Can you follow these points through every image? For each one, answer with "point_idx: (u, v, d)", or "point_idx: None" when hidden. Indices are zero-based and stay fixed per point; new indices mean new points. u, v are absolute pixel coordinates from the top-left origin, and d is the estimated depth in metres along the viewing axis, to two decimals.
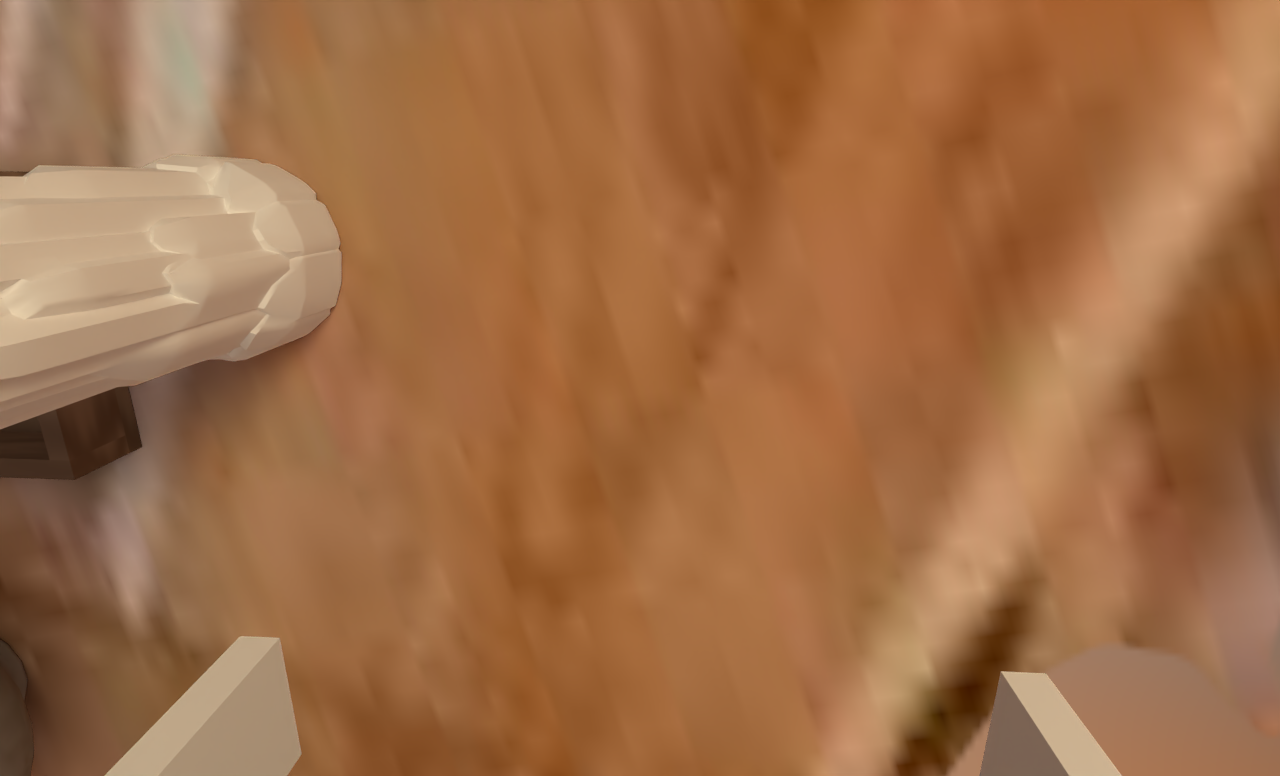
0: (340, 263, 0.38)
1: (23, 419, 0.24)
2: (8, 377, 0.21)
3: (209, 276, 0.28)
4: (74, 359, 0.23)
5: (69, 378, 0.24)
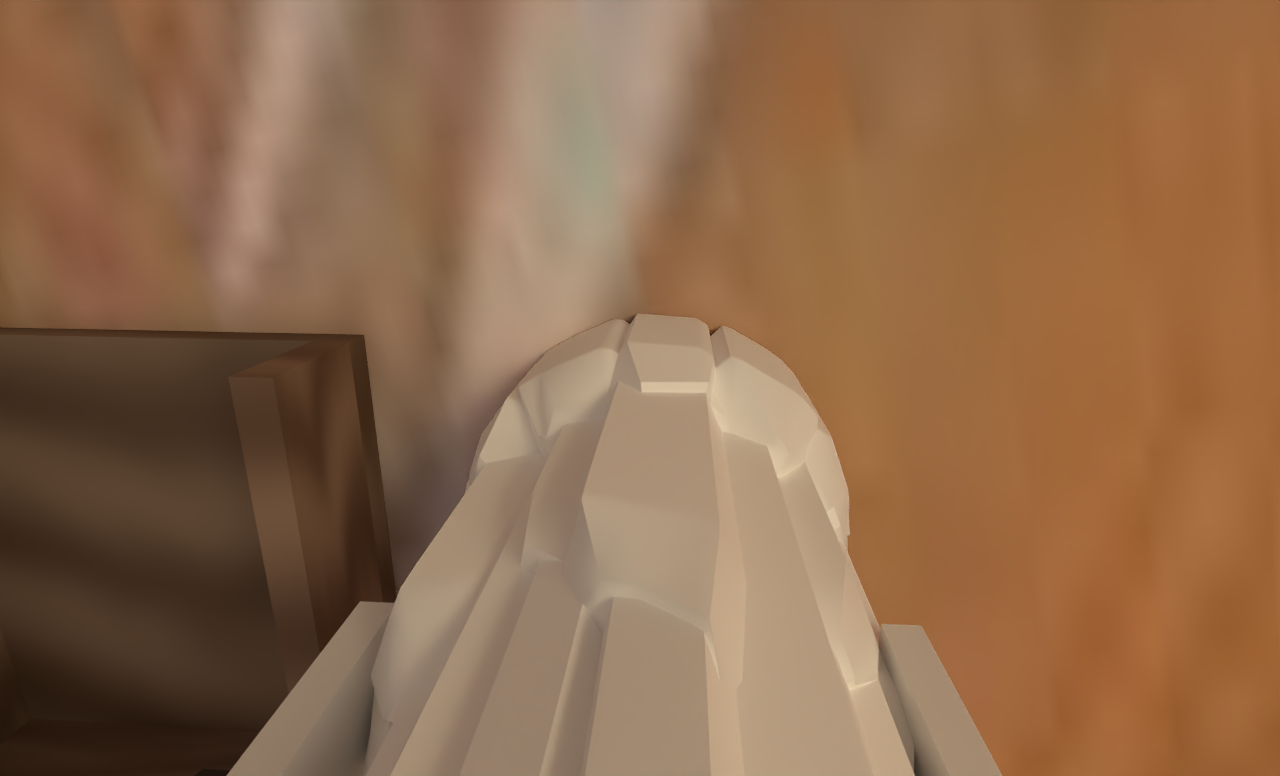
0: None
1: None
2: None
3: None
4: None
5: None
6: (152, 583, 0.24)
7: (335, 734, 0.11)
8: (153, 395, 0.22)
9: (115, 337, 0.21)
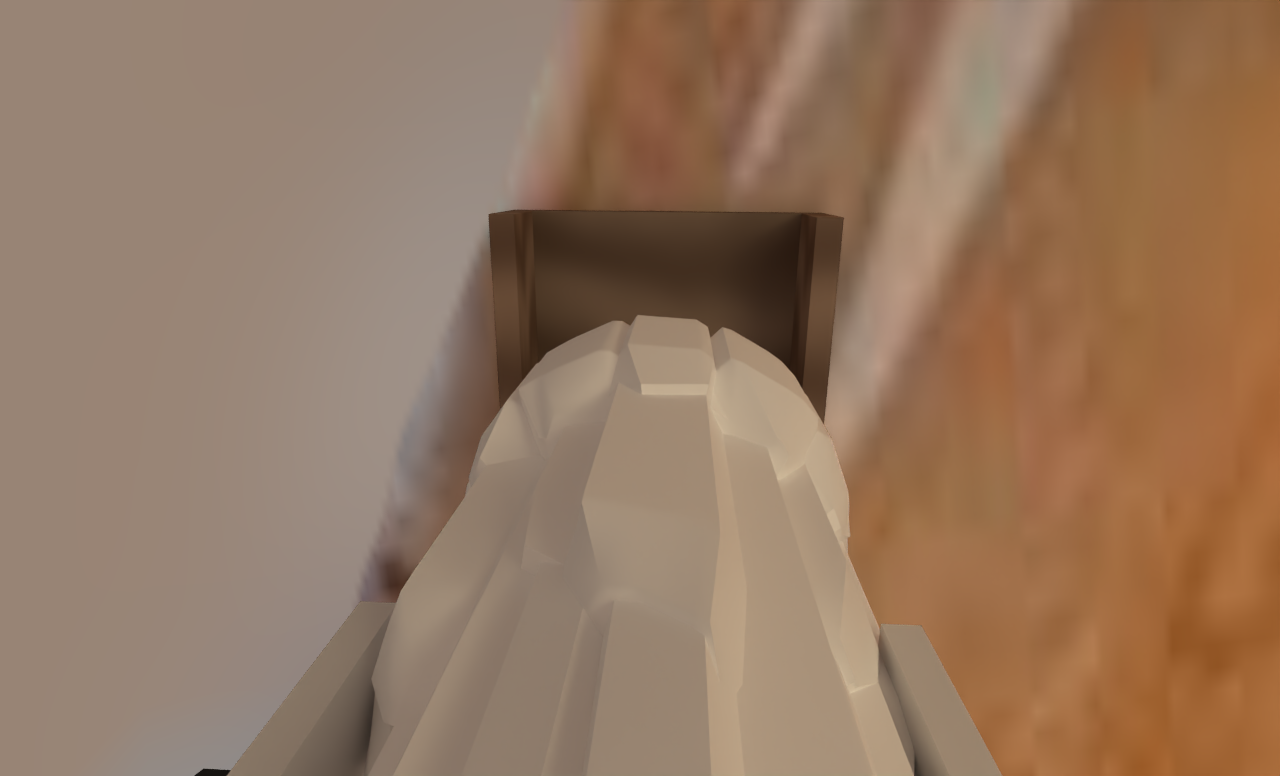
0: None
1: None
2: None
3: None
4: None
5: None
6: None
7: (335, 734, 0.11)
8: (689, 250, 0.35)
9: (674, 212, 0.34)
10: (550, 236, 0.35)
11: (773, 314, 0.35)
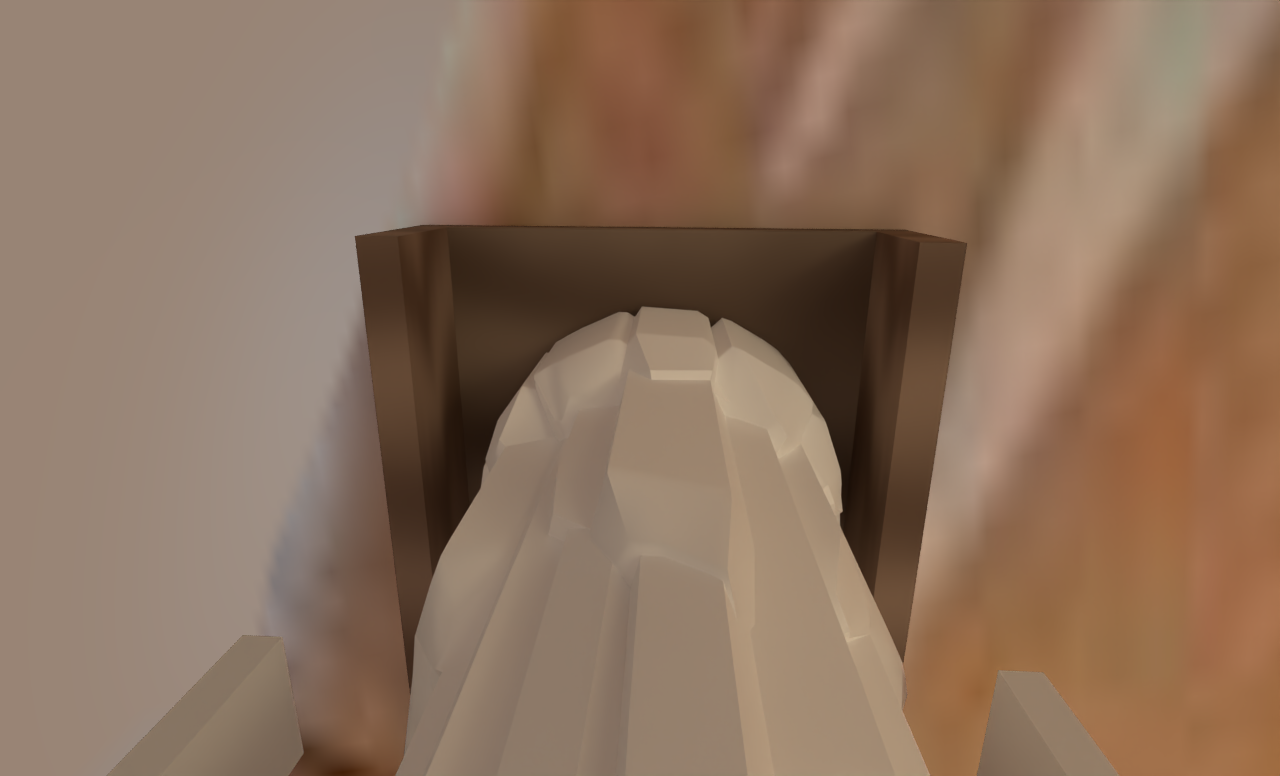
0: None
1: None
2: None
3: None
4: None
5: None
6: None
7: None
8: (696, 289, 0.22)
9: (671, 230, 0.21)
10: (477, 267, 0.22)
11: (828, 388, 0.23)
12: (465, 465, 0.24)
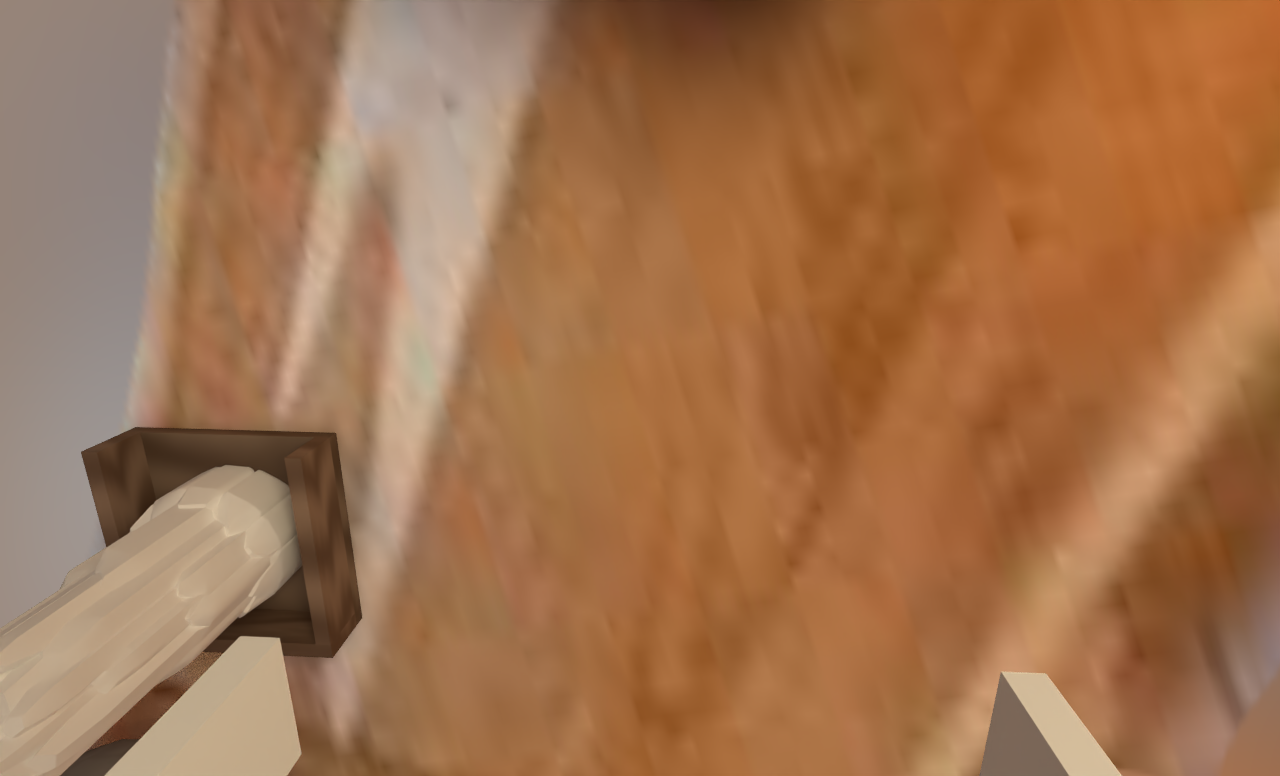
0: None
1: None
2: (98, 736, 0.35)
3: (214, 607, 0.43)
4: (133, 704, 0.37)
5: (129, 709, 0.38)
6: None
7: None
8: (247, 458, 0.51)
9: (232, 435, 0.51)
10: (155, 448, 0.52)
11: None
12: None
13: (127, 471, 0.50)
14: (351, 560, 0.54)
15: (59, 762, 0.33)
